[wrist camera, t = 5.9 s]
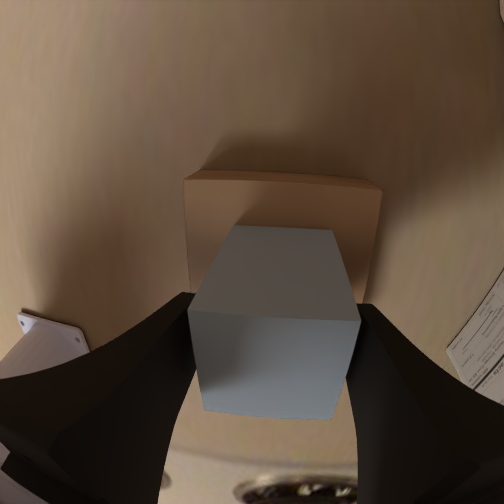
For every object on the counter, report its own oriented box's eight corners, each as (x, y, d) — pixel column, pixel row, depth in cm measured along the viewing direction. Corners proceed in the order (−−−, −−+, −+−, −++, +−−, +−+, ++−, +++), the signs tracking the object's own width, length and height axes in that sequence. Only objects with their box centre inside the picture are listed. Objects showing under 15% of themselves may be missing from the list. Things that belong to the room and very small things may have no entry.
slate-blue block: (321, 312, 13) (331, 420, 8) (235, 307, 14) (204, 410, 8) (332, 230, 12) (361, 320, 6) (233, 224, 12) (187, 309, 7)
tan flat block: (342, 313, 17) (350, 346, 14) (208, 305, 18) (195, 336, 15) (364, 177, 14) (382, 190, 11) (202, 168, 14) (183, 179, 12)
